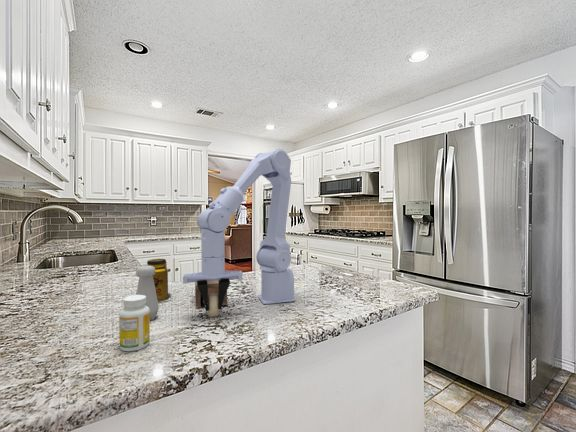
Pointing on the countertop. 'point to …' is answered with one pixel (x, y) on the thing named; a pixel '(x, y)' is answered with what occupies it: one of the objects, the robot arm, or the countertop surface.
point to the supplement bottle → (134, 323)
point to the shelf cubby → (210, 285)
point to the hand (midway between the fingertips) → (213, 309)
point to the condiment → (160, 279)
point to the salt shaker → (148, 288)
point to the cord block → (213, 301)
